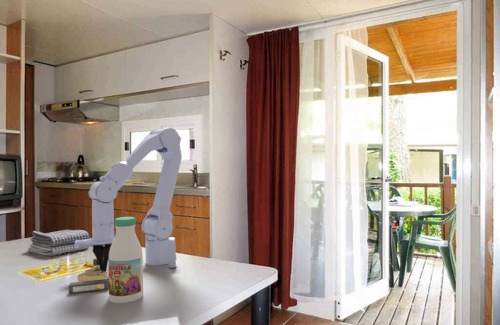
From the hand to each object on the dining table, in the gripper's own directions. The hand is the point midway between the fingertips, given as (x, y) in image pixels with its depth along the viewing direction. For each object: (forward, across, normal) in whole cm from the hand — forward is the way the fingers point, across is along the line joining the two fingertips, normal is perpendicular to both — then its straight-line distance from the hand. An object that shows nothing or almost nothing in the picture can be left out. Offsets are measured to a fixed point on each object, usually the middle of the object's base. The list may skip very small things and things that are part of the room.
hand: (103, 271), depth 98 cm
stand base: (+2, -1, -6) cm, 6 cm away
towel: (+3, -20, +43) cm, 47 cm away
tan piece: (+1, -2, -3) cm, 4 cm away
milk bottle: (+2, +7, -20) cm, 21 cm away
